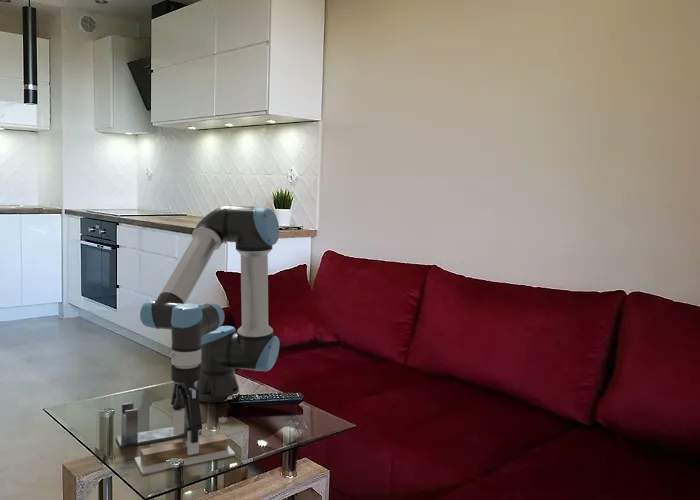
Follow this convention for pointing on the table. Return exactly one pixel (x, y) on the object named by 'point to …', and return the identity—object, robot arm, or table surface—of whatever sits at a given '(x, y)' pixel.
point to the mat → (187, 460)
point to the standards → (134, 438)
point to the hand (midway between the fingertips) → (185, 443)
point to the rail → (182, 450)
